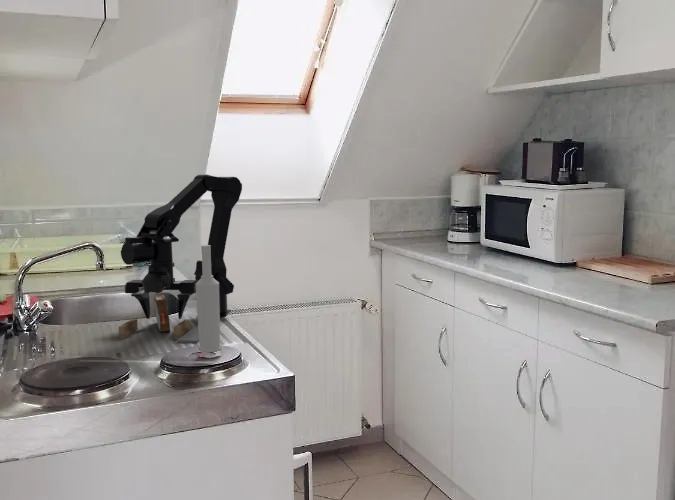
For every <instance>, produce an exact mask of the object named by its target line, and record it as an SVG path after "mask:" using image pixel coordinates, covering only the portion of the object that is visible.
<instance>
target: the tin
mask: <svg viewBox="0 0 675 500" xmlns="http://www.w3.org/2000/svg"><path fill="white" fill-rule="evenodd" d="M153 302H154V305H155V319H156V323H157V324H158V325H157V328H158V330H159V333H166V332H167V333H168V332H171V326H170V325H171V323H170V315H169V308H168V303H167V299H166V297H165V295H164V294H162V295H157V296H154V298H153Z"/></svg>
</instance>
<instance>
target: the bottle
mask: <svg viewBox="0 0 675 500" xmlns="http://www.w3.org/2000/svg"><path fill="white" fill-rule="evenodd" d="M200 249H201V250H200V251H201V261H202V273H203V275H202V276H201V279H200V280H199V281H198V282H197V283H196V293H195V294H196V295H195V296H196V309H197V311H196V312H197V325H198V330H199V342H198V344H199V347H198V348H197V349H198V350H199V351H202V352H217V351H221V352H222V346H221V327H220V326H221V325H220V324H221V323H220V322H221V319H220V318H221V317H220V309H219V282H218V281H216V280H215V279H214V278H213V275H212V274H211V245H208V244H203V245H200ZM199 351H198V352H199Z"/></svg>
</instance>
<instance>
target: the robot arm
mask: <svg viewBox="0 0 675 500" xmlns="http://www.w3.org/2000/svg"><path fill="white" fill-rule="evenodd" d="M242 190H243V183H242V182H241V180H240V179H239V178H238V177H236V176H215V175H211V174H198V175H196V176H194V178H193V180H191V182H189V183H188V184H187V185H186V186H185V187H184V188H183V189H181V191H179V193H177V195H175V196H174V197H173V198H172V199H171V200H170V201H169V202H168V203H165V204H164V205H162V206H160V207H157V208H155V209H153V210H152V211H150V212H149V213H148V214H146V215H145V217H144V223H143V224H142V226H141V228H140V229H139V231H138V233H137V236H135V237H132V236H131V237H130V236H129V237H125V238H124V241H125V242H124V243H123V244H122V246H121V250H120V256H121V259H122V261H123V262H124V264H126V265H127V266H130V265H136V264H145V263H149V262H150V263H149V264H150V265H148V269H147V270H148V271H147V274H145V276H144V277H143V278H142V279H132V280H130V281H129V280H128V281H127V282H126V283H125V284H124V294H130V296H131V297H134V298H135V299H136V300H137V301H138V303H139V304H140V306H141V309H142V311H143V313H144V315H145V317H146V320H148V319H151V318H150V317H151V302H150V301H151V300H150V293H155V294H160V293H162V292H163V291H179V293H178V294H177V295H176V296H177V299H178V300H177V301H178V303H177V304H178V306H177V307H178V309H177V315H178V320H181V319H182V317H183V314H184V311H185V309H186V306H187V303H188V302H189V299H190V297H191V296H192V295H195V294H196V283H197V282H198V281H199V280H200V279H201V276H202V275H203V273H202V260H197V261H196V264H195V271H194V273H193V275H194V276H195V277H194V279H184V280H182V281H180V282H176V278H175V277H174V267H175V262H173V243H177V242H179V241H180V240H179V238H178V237H177V236H175V235H174V233H173V232H174V231H175V229H176V228H177V227H178V225H179V224H180V222H181V217H183V215H184V214H185V213H186V212H187V211H188V210H189V209H190V208H191V207H192V206H193V205H194V204H195V203H196V202H197V201H198V200H199V199H200V198H202V196H204V194H206V193H207V192H211V199H212V202H213V205H214V206H213V207H214V208H213V214H212V217H211V218H212V219H211V225H210V230H209V231H210V232H209V235H208V242H207V245H211V274H212V275H213V278H214V279H215V280H216V281H218V282H219V309H220V316H221V317H224V316H225V317H226V316H227V315H228V314H230V313H231V312H232V309H228V295H230V294H232V293H234V288H235V285H234V284H233V283H232V282H231V280H230V279H228V277H227V271H228V270H227V265H226V264H225V260H224V256H225V250H226V245H227V239H228V233H229V228H230V223H231V217H232V210H233V208H234V207H235V206H236V204H237V203H238V202H239V200H240V197H241V194H242Z"/></svg>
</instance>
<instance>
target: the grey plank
mask: <svg viewBox="0 0 675 500" xmlns="http://www.w3.org/2000/svg"><path fill="white" fill-rule="evenodd" d="M176 342H177V344H178V343H179V344H181V343H183V344H185V343H186V344H199V330H198V324H197V325H196V326H194V327H193V328H192V329H190V331H188V332H187V333H186V334H185V335H184V336H182V337H181V338H180V339H176Z"/></svg>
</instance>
